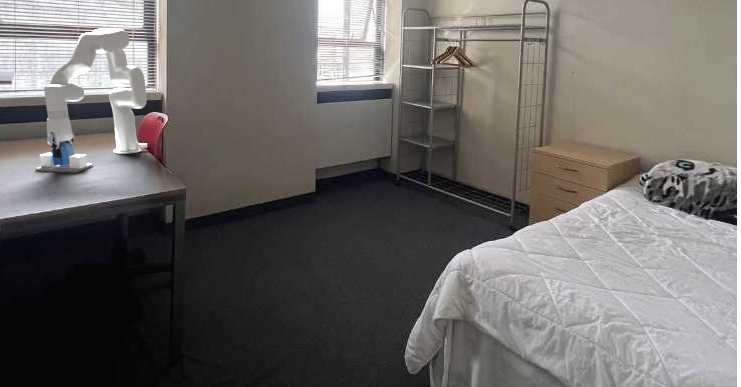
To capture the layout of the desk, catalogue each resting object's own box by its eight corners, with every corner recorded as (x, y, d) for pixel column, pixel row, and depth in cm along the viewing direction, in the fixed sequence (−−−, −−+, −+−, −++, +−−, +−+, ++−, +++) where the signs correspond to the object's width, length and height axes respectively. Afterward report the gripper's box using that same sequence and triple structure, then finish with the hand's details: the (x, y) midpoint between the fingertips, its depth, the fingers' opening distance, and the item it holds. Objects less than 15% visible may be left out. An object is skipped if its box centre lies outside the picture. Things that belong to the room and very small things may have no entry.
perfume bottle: (60, 161, 234) (56, 134, 231) (75, 161, 234) (71, 134, 231) (53, 164, 228) (49, 137, 225) (68, 165, 228) (65, 137, 225)
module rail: (92, 166, 236) (91, 153, 235) (75, 172, 225) (73, 158, 223) (55, 164, 238) (53, 151, 237) (35, 170, 227) (33, 156, 225)
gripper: (63, 112, 234) (68, 152, 239) (35, 117, 218) (41, 159, 222) (79, 112, 233) (84, 152, 238) (52, 117, 217) (57, 160, 222)
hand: (63, 155), depth 230 cm, fingers closed on perfume bottle, 7 cm apart
